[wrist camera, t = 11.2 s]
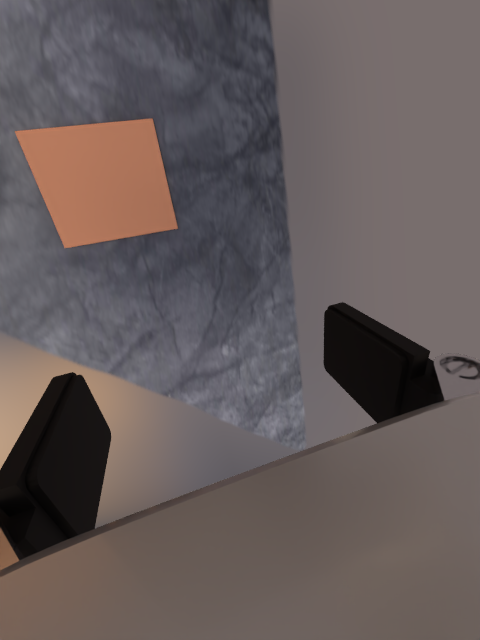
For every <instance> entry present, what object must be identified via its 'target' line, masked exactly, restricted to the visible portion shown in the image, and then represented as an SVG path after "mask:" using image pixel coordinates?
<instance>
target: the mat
mask: <svg viewBox="0 0 480 640" xmlns="http://www.w3.org/2000/svg"><path fill="white" fill-rule="evenodd" d="M15 133H16V136H17V138H18V140H19V143H20V145H21V147H22V149H23V152H24V154H25V156H26V159H27V161H28V163H29V166H30V168H31V170H32V173H33V175H34V177H35V180H36V182H37V184H38V187H39V189H40V191H41V194H42V196H43V198H44V201H45V203H46V205H47V208H48V210H49V212H50V215H51V217H52V219H53V222H54V224H55V226H56V228H57V231H58V233H59V235H60V238H61V240H62V242H63V245H64V247H65V248H69V247H75V246H81V245H87V244H92V243H98V242H104V241H109V240H115V239H121V238H127V237H132V236H138V235H144V234H149V233H155V232H161V231H167V230H172V229H178V227H177V223H176V218H175V214H174V210H173V205H172V201H171V197H170V192H169V188H168V184H167V179H166V175H165V171H164V166H163V162H162V157H161V153H160V149H159V144H158V140H157V136H156V131H155V127H154V123H153V118H152V119H141V120H130V121H120V122H109V123H98V124H87V125H77V126H66V127H55V128H44V129H34V130H23V131H15Z"/></svg>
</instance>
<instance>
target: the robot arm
mask: <svg viewBox="0 0 480 640" xmlns="http://www.w3.org/2000/svg"><path fill="white" fill-rule="evenodd" d="M429 353H430V351H429V350H427V349H425V348H424V347H422V346H420V345H418V344H417V343H415V342H413V341H411V340H410V339H408V338H406V337H404V336H403V335H401V334H399V333H397V332H395V331H394V330H392V329H390V328H388V327H387V326H385V325H383V324H381V323H379V322H378V321H376V320H374V319H372V318H370V317H368V316H367V315H365V314H363V313H362V312H360V311H358V310H356V309H355V308H353V307H351V306H349V305H347V304H346V303H338V304H335V305H331V306H329V307H328V309H327V310H326V311H325V315H324V367H325V369H326V371H327V372H328V373H329V374H330V375H331V376H332V377H333V378H334V379H335V380H336V381H337V383H339V384H340V386H341V387H342V388H343V389H345V391H346V392H347V393H349V395H350V396H351V397H352V398H353V399H354V400H355V401H356V402H357V403H358V404H359V405H360V406H361V407H362V408H363V409H364V410H365V411H366V412H367V413H368V414H369V415H370V416H371V417H372V418H373V419H374V420H375V421H376V422H377V424H374V425H372V426H369V427H366V428H363V429H361V430H358V431H355V432H352V433H350V434H347V435H345V436H341V437H339V438H336V439H333V440H330V441H328V442H325V443H322V444H319V445H317V446H314V447H311V448H308V449H306V450H303V451H300V452H298V453H295V454H292V455H289V456H287V457H284V458H281V459H279V460H276V461H273V462H270V463H268V464H265V465H262V466H260V467H257V468H254V469H252V470H249V471H246V472H243V473H241V474H238V475H235V476H233V477H230V478H227V479H224V480H222V481H219V482H217V483H214V484H211V485H208V486H206V487H203V488H200V489H198V490H195V491H192V492H190V493H187V494H184V495H182V496H179V497H177V498H174V499H171V500H169V501H166V502H163V503H160V504H158V505H155V506H153V507H150V508H147V509H145V510H142V511H139V512H137V513H134V514H131V515H129V516H126V517H124V518H121V519H119V520H116V521H113V522H111V523H108V524H106V525H103V526H101V527H98V528H96V529H94V528H95V523H96V517H97V512H98V506H99V501H100V496H101V490H102V485H103V480H104V474H105V469H106V464H107V458H108V453H109V447H110V442H111V432H110V429H109V427H108V425H107V423H106V421H105V419H104V417H103V415H102V413H101V411H100V409H99V407H98V405H97V403H96V401H95V399H94V397H93V395H92V394H91V391H90V389H89V387H88V385H87V383H86V382H85V380H84V378H83V376H82V375H76V374H75V373H73V372H72V373H68V374H64V375H61V376H56V377H54V378H53V379H52V380H51V382H50V384H49V385H48V387H47V389H46V391H45V393H44V394H43V396H42V398H41V399H40V401H39V403H38V405H37V406H36V408H35V410H34V412H33V413H32V415H31V417H30V419H29V421H28V422H27V424H26V426H25V428H24V429H23V431H22V433H21V434H20V436H19V438H18V440H17V442H16V443H15V445H14V447H13V448H12V450H11V452H10V454H9V456H8V457H7V459H6V461H5V463H4V464H3V466H2V468H1V470H0V640H480V360H478V359H476V358H473V357H470V356H467V355H461V354H451V353H448V354H441V355H439V356H437V357H436V358H435V359H434V361H432V360H430V359H429V358H428V357H429Z"/></svg>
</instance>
